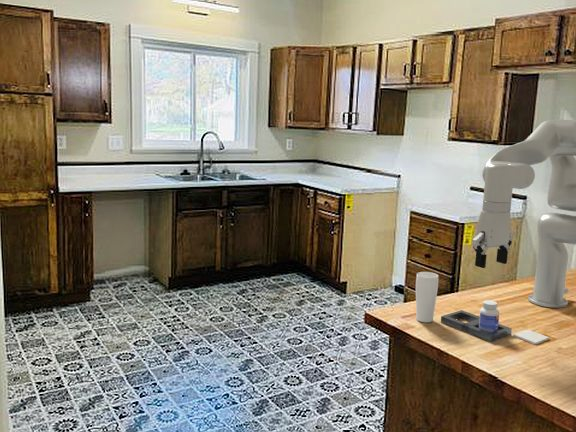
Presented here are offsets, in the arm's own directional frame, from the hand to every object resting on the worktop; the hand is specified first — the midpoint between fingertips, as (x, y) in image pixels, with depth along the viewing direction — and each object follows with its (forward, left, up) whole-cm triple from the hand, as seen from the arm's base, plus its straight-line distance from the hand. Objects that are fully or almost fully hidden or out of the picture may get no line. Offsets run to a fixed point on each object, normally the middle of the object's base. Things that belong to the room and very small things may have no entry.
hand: (490, 264), depth 158 cm
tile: (-9, +9, -21) cm, 25 cm away
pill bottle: (-1, 0, -22) cm, 22 cm away
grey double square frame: (-1, -4, -21) cm, 22 cm away
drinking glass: (+7, -17, -21) cm, 28 cm away
